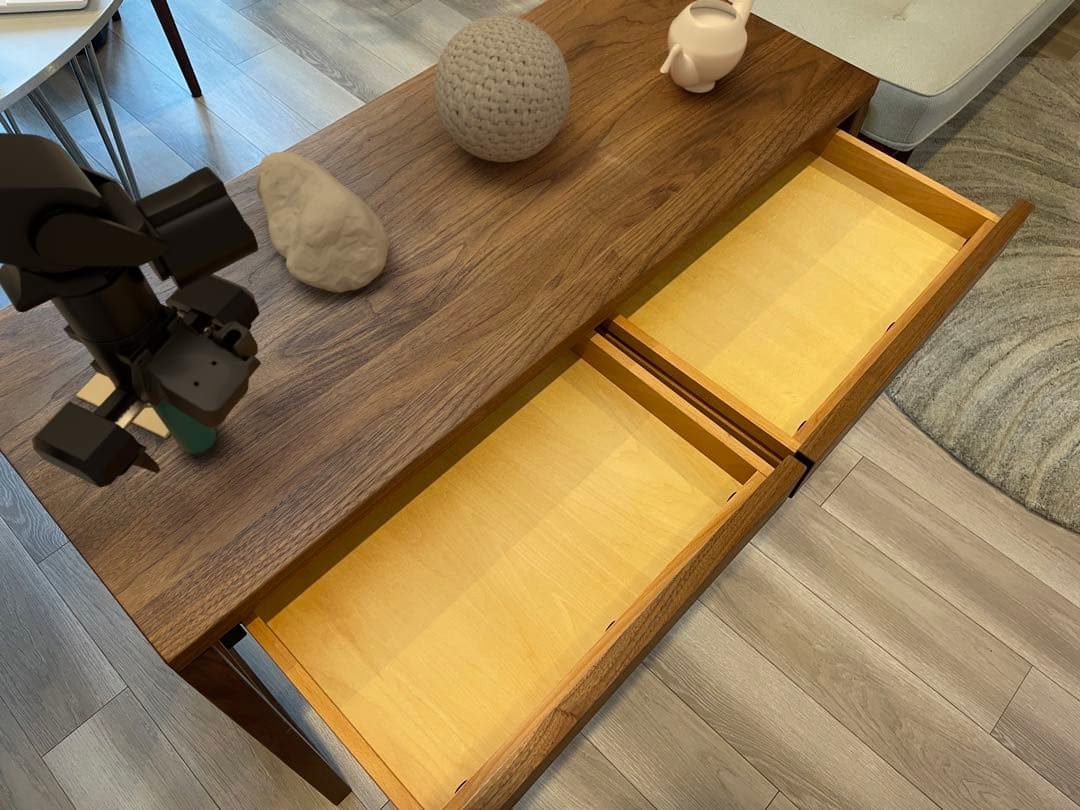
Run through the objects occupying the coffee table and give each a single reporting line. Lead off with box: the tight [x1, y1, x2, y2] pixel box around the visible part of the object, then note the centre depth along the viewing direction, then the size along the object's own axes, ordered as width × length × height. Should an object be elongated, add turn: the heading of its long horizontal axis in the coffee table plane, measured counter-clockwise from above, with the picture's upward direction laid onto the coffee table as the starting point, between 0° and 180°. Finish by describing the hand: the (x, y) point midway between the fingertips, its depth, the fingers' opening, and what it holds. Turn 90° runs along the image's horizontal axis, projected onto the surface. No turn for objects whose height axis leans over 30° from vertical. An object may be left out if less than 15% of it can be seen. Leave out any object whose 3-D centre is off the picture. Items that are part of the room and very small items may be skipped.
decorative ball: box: [433, 14, 572, 163], centre depth 86 cm, size 15×15×15 cm
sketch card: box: [76, 372, 171, 439], centre depth 73 cm, size 10×10×1 cm
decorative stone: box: [255, 151, 391, 293], centre depth 80 cm, size 17×10×10 cm
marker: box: [149, 400, 217, 457], centre depth 66 cm, size 3×3×8 cm
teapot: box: [659, 0, 755, 94], centre depth 97 cm, size 10×20×9 cm, turn 140°
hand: (190, 427), depth 67 cm, fingers open, 9 cm apart
